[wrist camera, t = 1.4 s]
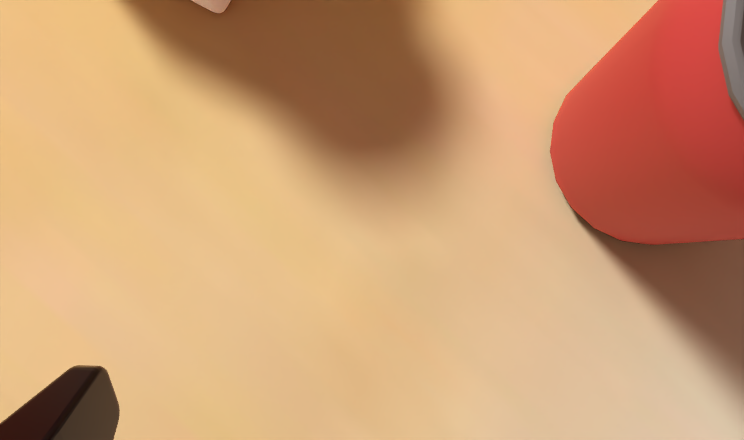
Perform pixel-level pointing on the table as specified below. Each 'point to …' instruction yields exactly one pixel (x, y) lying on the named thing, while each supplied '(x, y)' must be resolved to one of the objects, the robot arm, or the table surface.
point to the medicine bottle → (213, 5)
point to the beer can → (660, 129)
